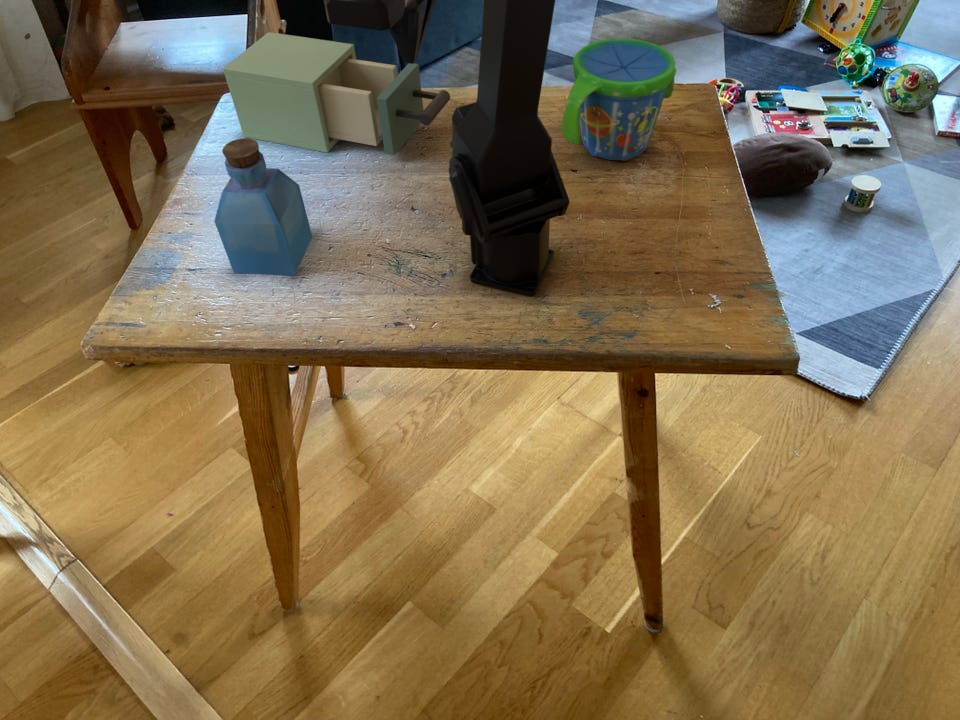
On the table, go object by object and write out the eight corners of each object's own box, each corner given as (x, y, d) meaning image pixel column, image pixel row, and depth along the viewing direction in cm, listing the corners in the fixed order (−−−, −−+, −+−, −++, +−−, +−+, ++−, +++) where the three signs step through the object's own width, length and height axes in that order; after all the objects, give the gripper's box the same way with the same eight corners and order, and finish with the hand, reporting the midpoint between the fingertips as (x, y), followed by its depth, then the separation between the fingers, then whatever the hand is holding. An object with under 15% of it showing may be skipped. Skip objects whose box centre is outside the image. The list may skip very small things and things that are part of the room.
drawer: (457, 124, 88) (453, 69, 83) (429, 162, 82) (423, 105, 77) (347, 105, 92) (337, 51, 87) (313, 140, 86) (300, 85, 81)
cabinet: (365, 112, 92) (353, 44, 86) (327, 153, 86) (312, 83, 80) (285, 98, 95) (268, 31, 89) (243, 136, 89) (222, 68, 83)
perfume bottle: (294, 276, 72) (262, 169, 63) (233, 272, 72) (193, 166, 64) (312, 235, 76) (284, 130, 67) (254, 233, 76) (219, 128, 68)
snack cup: (635, 105, 91) (646, 21, 83) (698, 143, 85) (715, 56, 77) (532, 147, 85) (534, 62, 78) (591, 190, 79) (598, 102, 72)
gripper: (358, -148, 72) (381, 15, 83) (251, -87, 60) (294, 93, 72) (464, -142, 69) (472, 27, 80) (372, -76, 57) (397, 110, 69)
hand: (410, 61), depth 75 cm, fingers closed
